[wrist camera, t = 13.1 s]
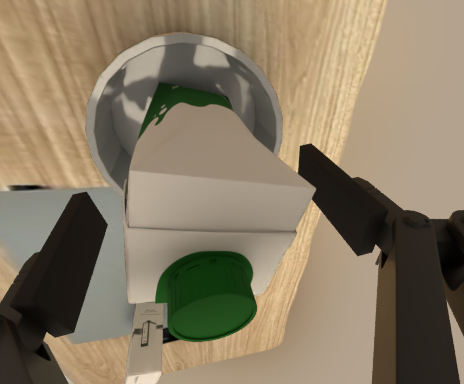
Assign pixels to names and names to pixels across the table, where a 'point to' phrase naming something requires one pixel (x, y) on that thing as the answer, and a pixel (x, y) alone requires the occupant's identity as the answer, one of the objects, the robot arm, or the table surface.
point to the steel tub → (177, 73)
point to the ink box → (145, 345)
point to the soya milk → (205, 214)
